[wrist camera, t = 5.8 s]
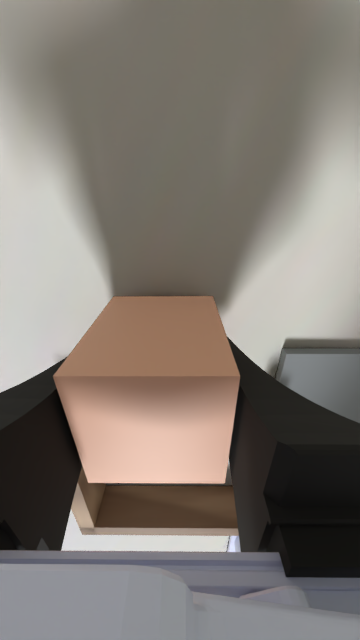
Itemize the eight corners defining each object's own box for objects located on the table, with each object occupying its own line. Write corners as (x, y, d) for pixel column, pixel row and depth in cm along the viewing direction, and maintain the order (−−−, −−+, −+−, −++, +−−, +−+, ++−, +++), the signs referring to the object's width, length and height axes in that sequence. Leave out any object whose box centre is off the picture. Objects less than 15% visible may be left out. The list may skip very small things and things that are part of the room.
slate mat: (374, 468, 19) (379, 475, 18) (254, 467, 19) (256, 475, 19) (449, 348, 14) (460, 353, 13) (282, 348, 14) (286, 354, 13)
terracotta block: (207, 374, 14) (225, 483, 8) (125, 374, 14) (88, 482, 8) (212, 295, 11) (240, 376, 6) (113, 296, 11) (52, 376, 6)
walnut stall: (250, 493, 21) (260, 535, 18) (94, 492, 21) (82, 534, 18) (273, 397, 15) (293, 437, 13) (64, 396, 16) (40, 436, 13)
